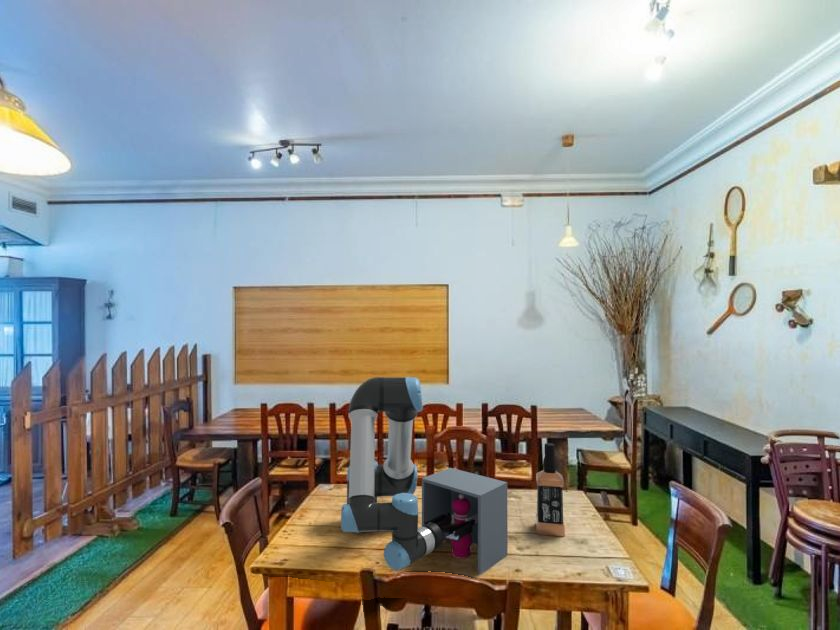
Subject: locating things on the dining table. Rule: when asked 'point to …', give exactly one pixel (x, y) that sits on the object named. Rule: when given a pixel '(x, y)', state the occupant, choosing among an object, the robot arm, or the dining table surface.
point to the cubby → (471, 509)
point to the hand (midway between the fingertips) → (470, 515)
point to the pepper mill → (460, 514)
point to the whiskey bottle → (549, 496)
